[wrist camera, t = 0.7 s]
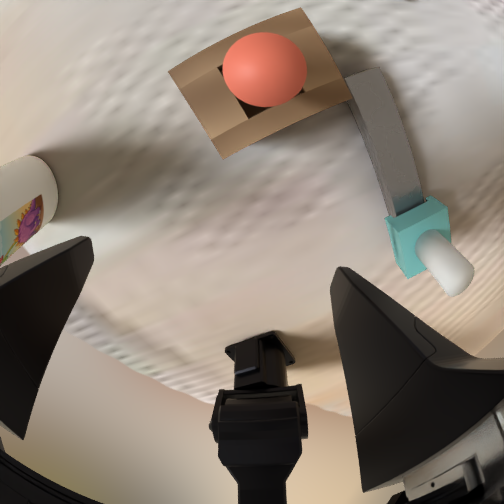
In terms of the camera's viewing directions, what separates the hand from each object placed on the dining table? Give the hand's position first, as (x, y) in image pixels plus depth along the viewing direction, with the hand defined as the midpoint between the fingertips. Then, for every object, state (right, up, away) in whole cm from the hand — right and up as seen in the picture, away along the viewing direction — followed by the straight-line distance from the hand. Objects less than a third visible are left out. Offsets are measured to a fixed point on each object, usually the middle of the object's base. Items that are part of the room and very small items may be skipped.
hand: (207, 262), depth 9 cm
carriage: (+16, +2, +12) cm, 20 cm away
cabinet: (+2, +12, +8) cm, 15 cm away
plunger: (+2, +9, +3) cm, 10 cm away
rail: (+13, +8, +11) cm, 18 cm away
